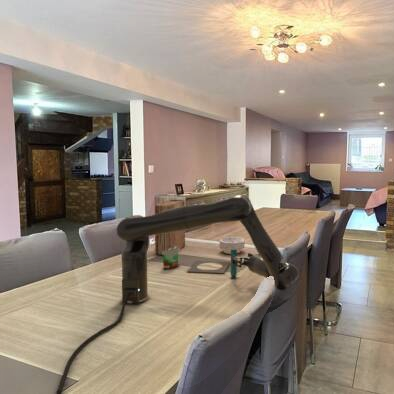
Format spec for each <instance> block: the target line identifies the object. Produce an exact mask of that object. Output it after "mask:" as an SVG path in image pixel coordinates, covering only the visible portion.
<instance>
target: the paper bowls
mask: <svg viewBox="0 0 394 394" xmlns="http://www.w3.org/2000/svg"><path fill="white" fill-rule="evenodd" d="M232 248H235V249H237V254H240V253H241V251H242V250H243V249H245V239H244V238H242V237H238V236H237V237H236V236H226V237H222V238H220V239H219V249H220V250H222V252H223V254H226V255H231V249H232Z"/></svg>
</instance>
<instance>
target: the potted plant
mask: <svg viewBox="0 0 394 394" xmlns="http://www.w3.org/2000/svg"><path fill="white" fill-rule="evenodd" d="M180 252H181V249H179V247H178V246H176V245H173V247H172V248H168V249H167V250H163V252H162V255H161V256H162V264H163V270H172V269H176V268H178V265H179V254H180Z"/></svg>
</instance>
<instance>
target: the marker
mask: <svg viewBox="0 0 394 394" xmlns="http://www.w3.org/2000/svg"><path fill="white" fill-rule="evenodd" d="M232 256H236V257H238V253H237V249H235V248H232V249H231V254H230V258H231V257H232ZM237 268H238V266H235V265H233V264H232V260H231V259H230V277H231V279H233V280H235V279H237V273H238V271H237V270H238V269H237Z"/></svg>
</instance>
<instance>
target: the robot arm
mask: <svg viewBox="0 0 394 394" xmlns="http://www.w3.org/2000/svg"><path fill="white" fill-rule="evenodd" d="M228 222H229V223H231V222H240V223H241V225H242V226H243V227H244V229H245V230H246V232H247V233H248V235H249V237H250V239H251V241H252V243H253V246H254V248H255V250H256V252H257V254H255V253H251V252H248V253H247V256H239V257H238V256H237V257H236V256H232V257H231V256H230V261H231V260H232V264H233V265H235V266H237V268H242V266H243V267H247V268H248V270H249V271H250V272H252V273H254V274H256V275H258V276H260V277H264V278H266V279H268V278H267V277H269V276H273V277H274V280H275V286H274V288H276V289H277V290H278V291H286V290H287V289H288V288H289V287H290V286H291V285H292V284H293V283H295V281H297V280H298V278H299V277H300V272H299V269H298V268H297V266H295V265H294V264H292V263H290V262H282V260H283V258H284V256H283V255H282V253H281V251H280V250H279V248H278V247H277V245H276V243H275V242H274V241H273V239H272V237H271V236H270V235H269V233H268V232H267V231H266V229H265V227H264V225H263V224H262V222H261V220H260V219H259V217H258V215H257V213H256V211H255V208H254V206H253V203H252V201H251V199H250V198H249V197H248V196H246V195H244V194H236V195H234V196H232V197H230V198H227V199H224V200H220V201H218V202H213V203H202V204H201V203H200V204H199V203H198V204H196V203H195V204H188V205H185V206H182V207H177V208H173V209H169V210H166V211H163V212H160V213H158V214H155V213H154V214H152V215H147V216H143V215H141V214H134V215H131V216H128V217H125V218H123V219H122V220H120V221H119V223H118V224H117V226H116V230H115V231H116V235H117V236H118V238H119V239H121V240H122V241H125V244H124V247H123V248H122V251H121V277H122V278H121V301H122V306H121V310H120V313H119V316H118V318H117V320H116V321H114V322H113V323H111V324H109V325H108V326H105V327H104V328H102V329H100V330H99V331H97V332H96V333H94V334H92V335H91V336H89V337H88V338H87V339H86V340H84V341H83V342H82V343H81V344H80V345H79V346H78V347H77V348H76V349H75V350H74V352H73V353H72V354H71V356H70V357H69V358H68V360H67V363H66V364H65V367H64V370H63V373H62V375H61V378H60V381H59V384H58V387H57V390H56V394H61V393H62V391H63V388H64V385H65V382H66V379H67V375H68V374H69V373H68V372H69V371H70V367H71V365H72V362H73V361H74V359H75V358H76V356H77V355H78V353H79V352H80V351H81V349H83V348H84V347H85V346H86V345H87V344H89V342H91V341H93V340H94V339H95V338H97V337H99V336H100V335H101V334H103V333H104V332H106V331H108V330H110V329H112V328H113V327H115V326H117V325H118V324H119V323H120V322H121V320H122V318H123V316H124V312H125V308H126V306H127V304H128V305H129V304H130V305H139V304H141V303H143V302H145V301H147V300H148V299H149V288H148V287H149V286H148V285H149V283H148V250H149V247H150V246H149V245H150V237H151V236H155V235H156V234H165V233H173V232H180V231H185V232H186V231H190V230H195V229H199V228H204V227H207V226H209V225H210V226H211V225H213V224H219V223H228Z"/></svg>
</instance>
